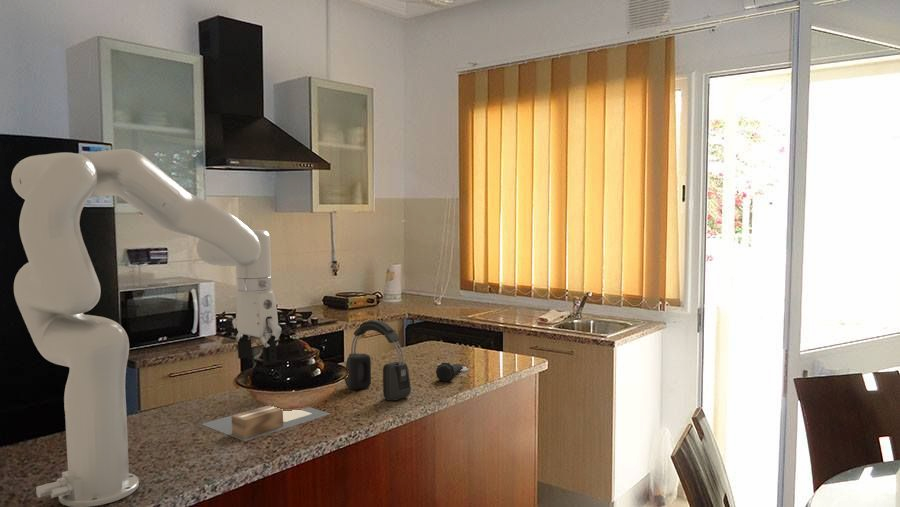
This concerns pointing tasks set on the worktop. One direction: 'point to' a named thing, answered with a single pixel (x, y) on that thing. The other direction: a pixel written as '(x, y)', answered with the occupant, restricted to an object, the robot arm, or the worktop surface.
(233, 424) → the block
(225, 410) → the worktop surface
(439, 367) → the microphone
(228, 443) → the worktop surface
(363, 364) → the headphones
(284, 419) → the mat
